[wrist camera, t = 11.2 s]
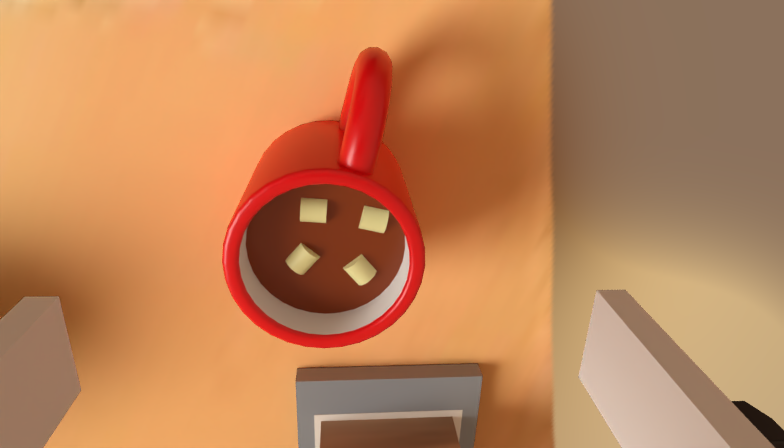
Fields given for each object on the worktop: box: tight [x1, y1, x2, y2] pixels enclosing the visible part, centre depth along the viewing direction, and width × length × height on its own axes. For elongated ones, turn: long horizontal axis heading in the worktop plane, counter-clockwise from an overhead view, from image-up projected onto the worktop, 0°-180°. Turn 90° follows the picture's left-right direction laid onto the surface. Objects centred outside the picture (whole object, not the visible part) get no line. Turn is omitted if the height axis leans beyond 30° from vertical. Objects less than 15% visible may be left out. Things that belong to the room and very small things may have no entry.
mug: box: [222, 47, 425, 348], centre depth 24 cm, size 8×12×8 cm, turn 165°
